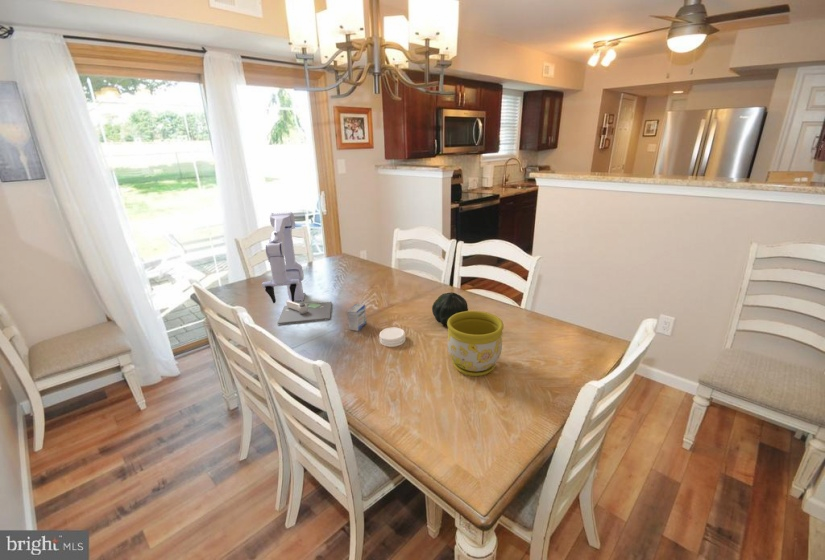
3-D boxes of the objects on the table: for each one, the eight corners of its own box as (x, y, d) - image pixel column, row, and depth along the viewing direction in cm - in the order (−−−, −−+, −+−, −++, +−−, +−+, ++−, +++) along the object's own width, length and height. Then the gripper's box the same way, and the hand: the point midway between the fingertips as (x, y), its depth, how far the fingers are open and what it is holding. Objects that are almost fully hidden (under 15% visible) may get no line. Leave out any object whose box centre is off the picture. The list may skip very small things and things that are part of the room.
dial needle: (309, 311, 164) (308, 303, 163) (302, 314, 161) (301, 307, 160) (291, 305, 171) (290, 298, 170) (284, 308, 168) (283, 300, 167)
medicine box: (358, 331, 148) (356, 312, 145) (348, 330, 149) (346, 311, 146) (366, 322, 155) (365, 304, 152) (357, 321, 156) (355, 303, 153)
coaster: (382, 349, 134) (381, 341, 133) (377, 336, 143) (377, 329, 142) (408, 345, 137) (408, 336, 136) (402, 333, 146) (401, 325, 145)
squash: (445, 298, 163) (435, 282, 151) (476, 306, 156) (468, 290, 144) (433, 327, 158) (422, 312, 146) (465, 336, 151) (456, 322, 139)
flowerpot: (464, 346, 134) (465, 306, 129) (510, 362, 123) (513, 319, 118) (436, 368, 121) (436, 325, 116) (484, 389, 110) (486, 342, 105)
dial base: (284, 307, 172) (284, 305, 172) (331, 303, 175) (331, 301, 175) (277, 325, 155) (277, 322, 155) (329, 319, 159) (329, 317, 158)
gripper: (258, 276, 144) (264, 306, 149) (295, 273, 147) (300, 303, 151) (262, 270, 151) (267, 300, 156) (297, 267, 153) (302, 297, 158)
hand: (283, 301), depth 154 cm, fingers open, 7 cm apart
